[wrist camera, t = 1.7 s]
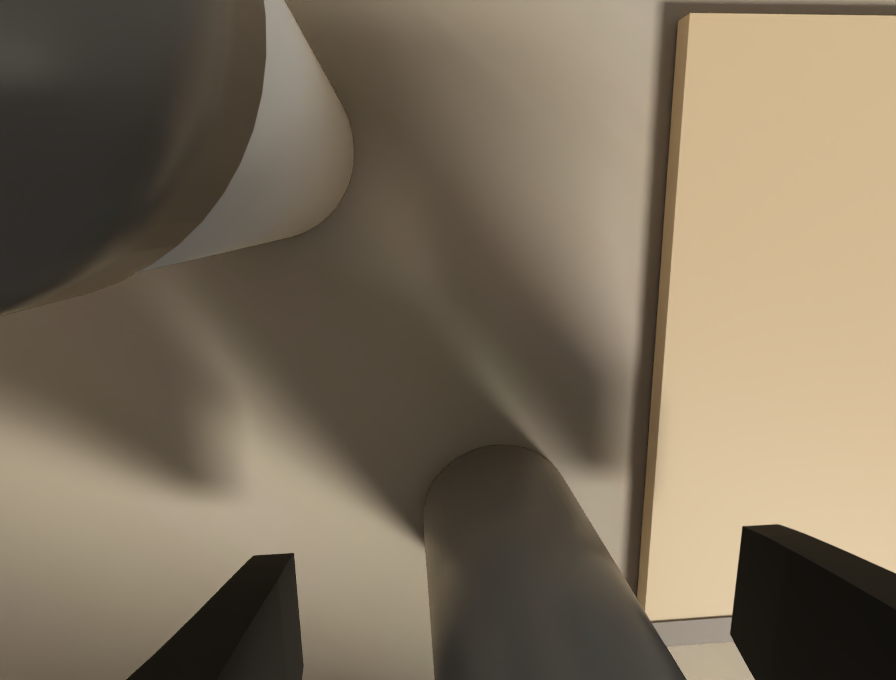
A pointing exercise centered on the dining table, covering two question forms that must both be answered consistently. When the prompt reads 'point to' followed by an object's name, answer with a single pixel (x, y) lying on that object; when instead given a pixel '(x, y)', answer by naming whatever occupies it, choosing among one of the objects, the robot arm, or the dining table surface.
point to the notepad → (772, 306)
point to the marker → (527, 580)
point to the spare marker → (156, 138)
